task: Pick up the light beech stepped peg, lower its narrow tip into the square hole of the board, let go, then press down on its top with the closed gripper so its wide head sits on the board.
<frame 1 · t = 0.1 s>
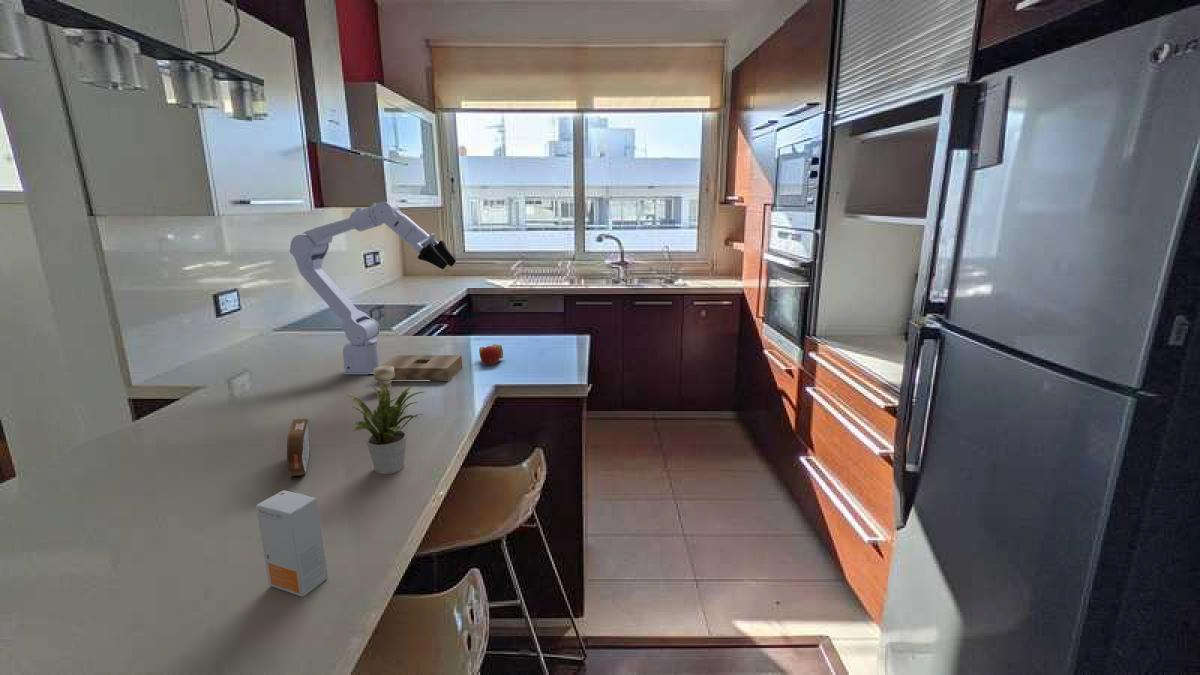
hand: (449, 265, 157), 32 cm above the counter, tool tilted 50°, fingers open, 7 cm apart
skincare box: (299, 584, 72), on the counter
house plant: (395, 469, 103), on the counter
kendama: (492, 360, 178), on the counter
tin: (302, 467, 105), on the counter
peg: (386, 389, 148), on the counter
board: (422, 374, 162), on the counter
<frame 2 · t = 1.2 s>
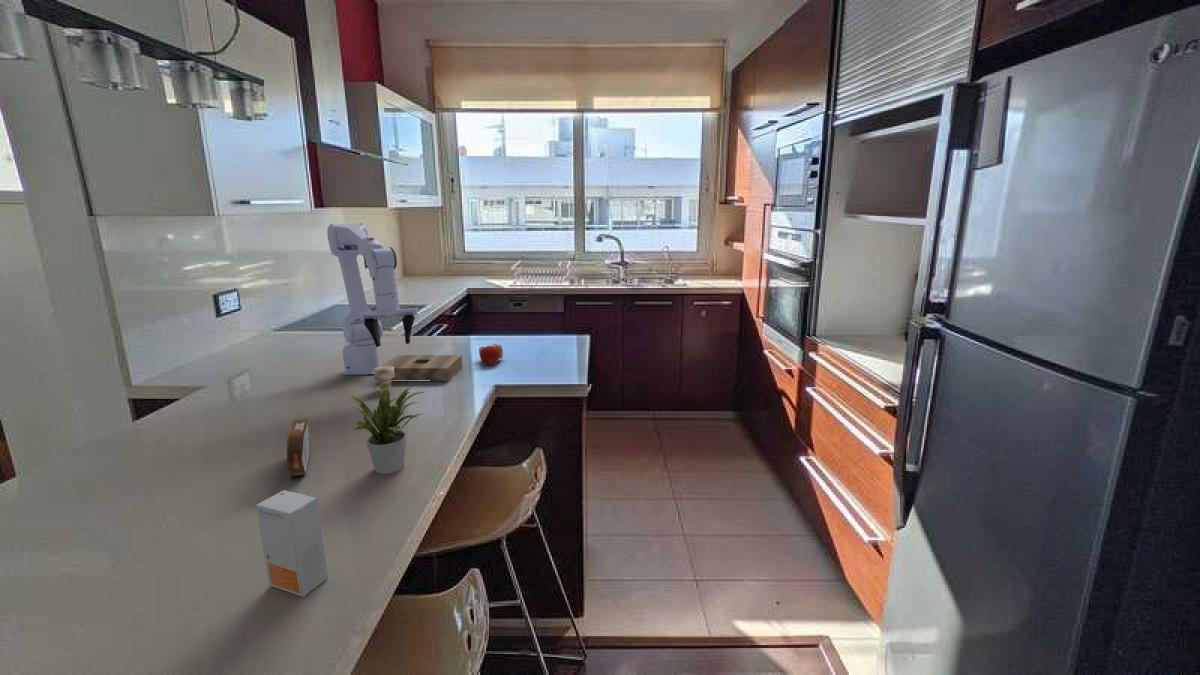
hand: (393, 344, 146), 12 cm above the counter, tool pointing down, fingers open, 7 cm apart
nothing on the counter moved.
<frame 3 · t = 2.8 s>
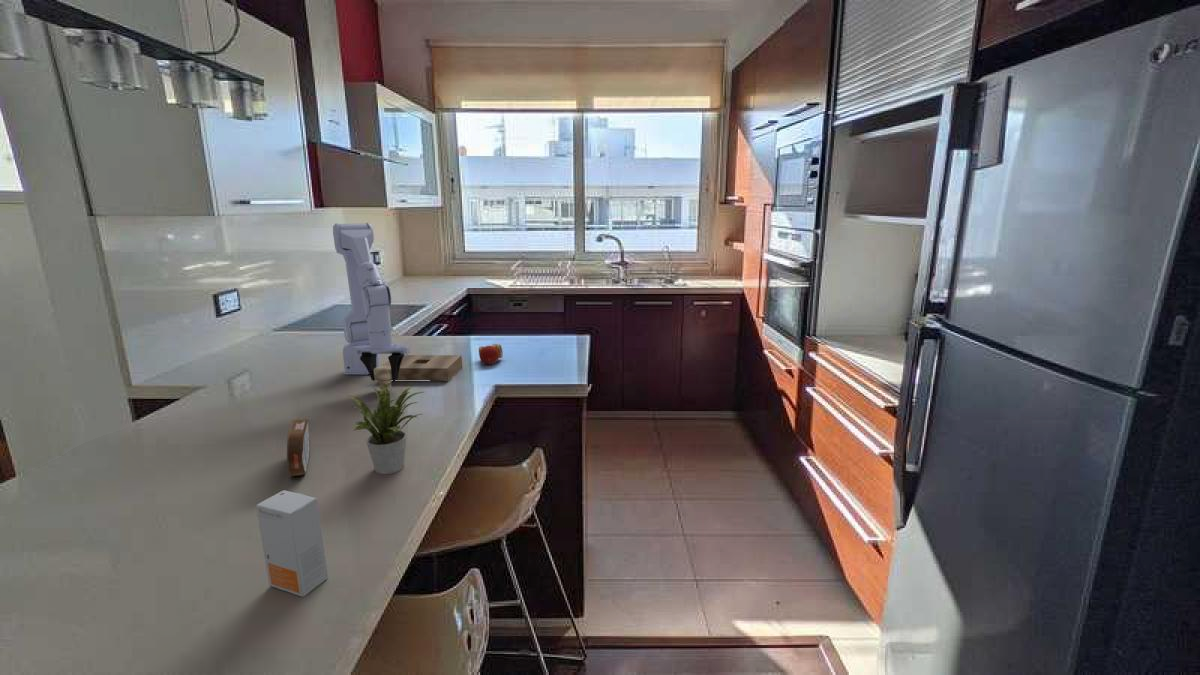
hand: (384, 379, 148), 3 cm above the counter, tool pointing down, fingers closed on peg, 5 cm apart
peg: (386, 389, 148), on the counter, touching gripper
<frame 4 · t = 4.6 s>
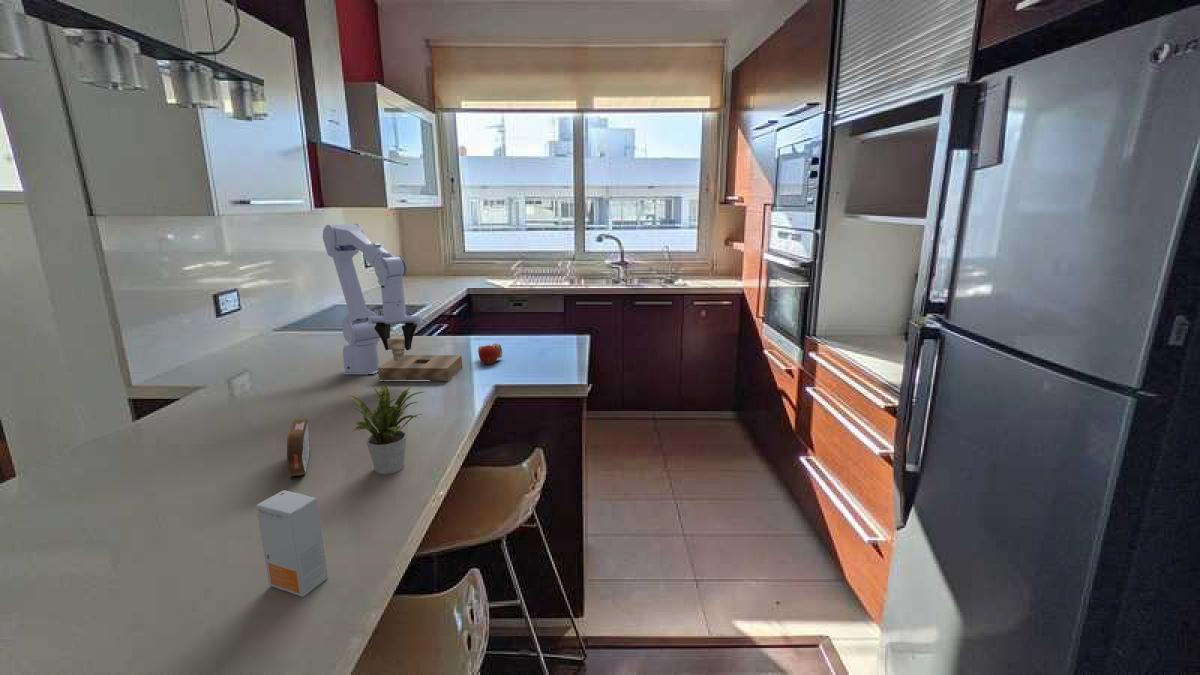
hand: (398, 349, 152), 10 cm above the counter, tool pointing down, fingers closed on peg, 5 cm apart
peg: (399, 359, 152), point 7 cm above the counter, touching gripper
when the fingers open (5 cm above the counter, at t = 6.8 s): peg drops 1 cm, resting on board.
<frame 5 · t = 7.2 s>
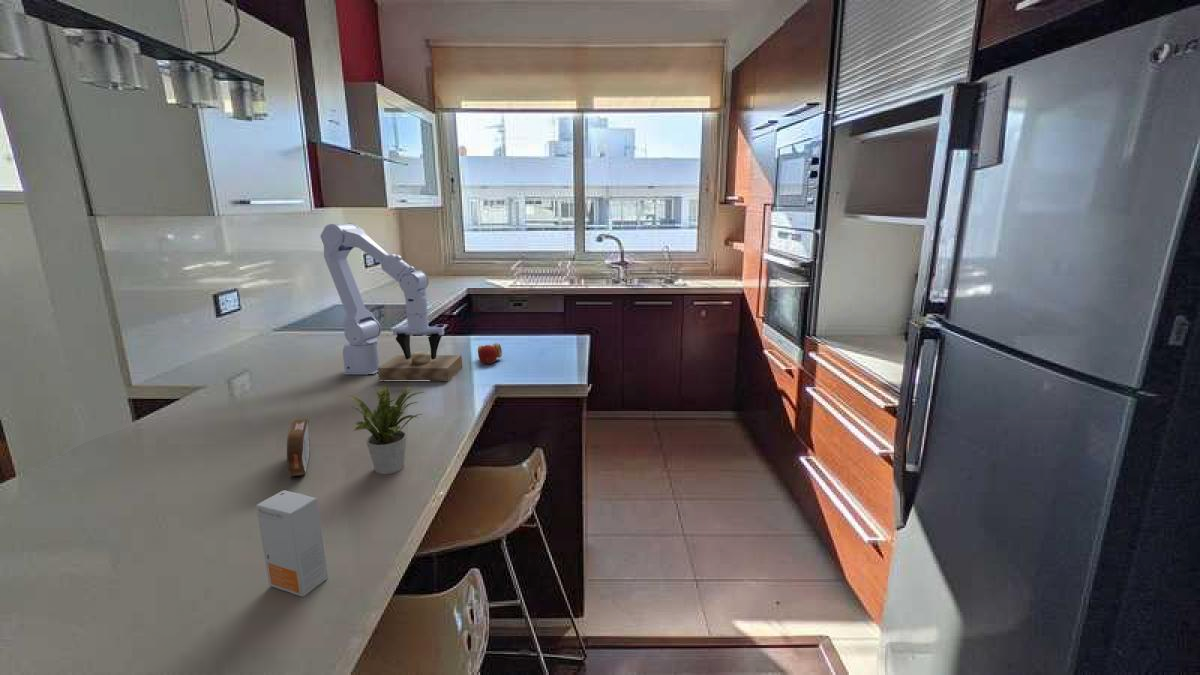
hand: (421, 358, 161), 5 cm above the counter, tool pointing down, fingers open, 7 cm apart
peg: (422, 372, 162), resting on board
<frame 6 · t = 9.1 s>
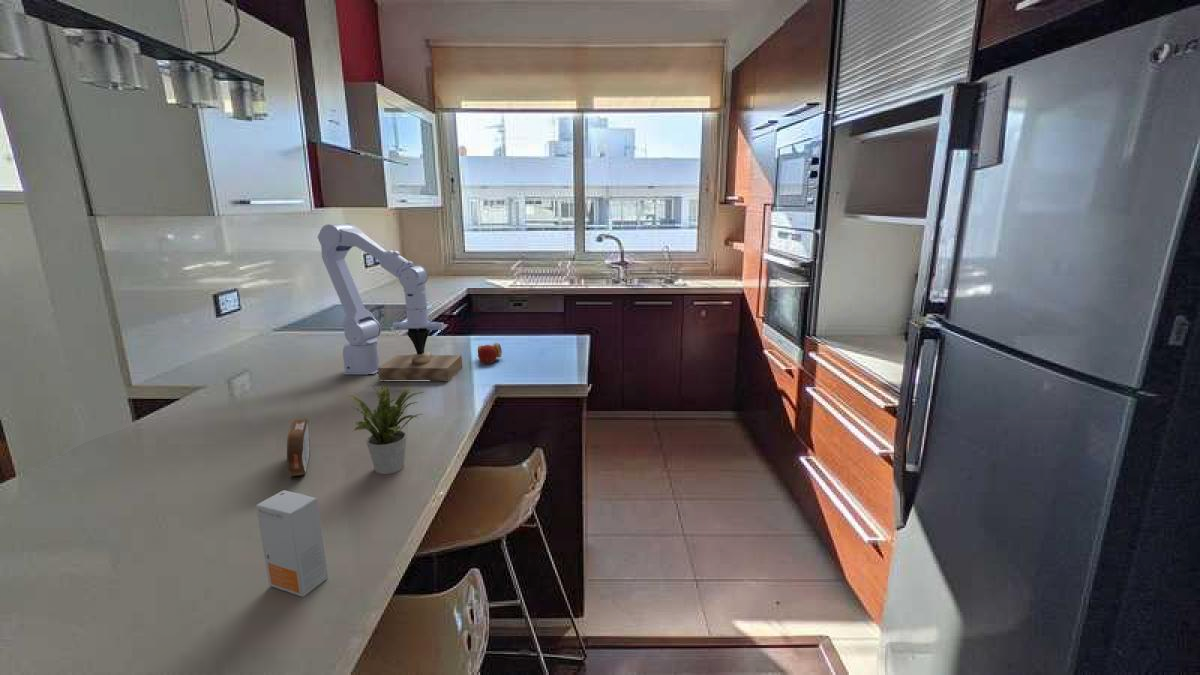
hand: (420, 353, 160), 6 cm above the counter, tool pointing down, fingers closed, pressing on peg
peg: (422, 372, 162), resting on board, touching gripper
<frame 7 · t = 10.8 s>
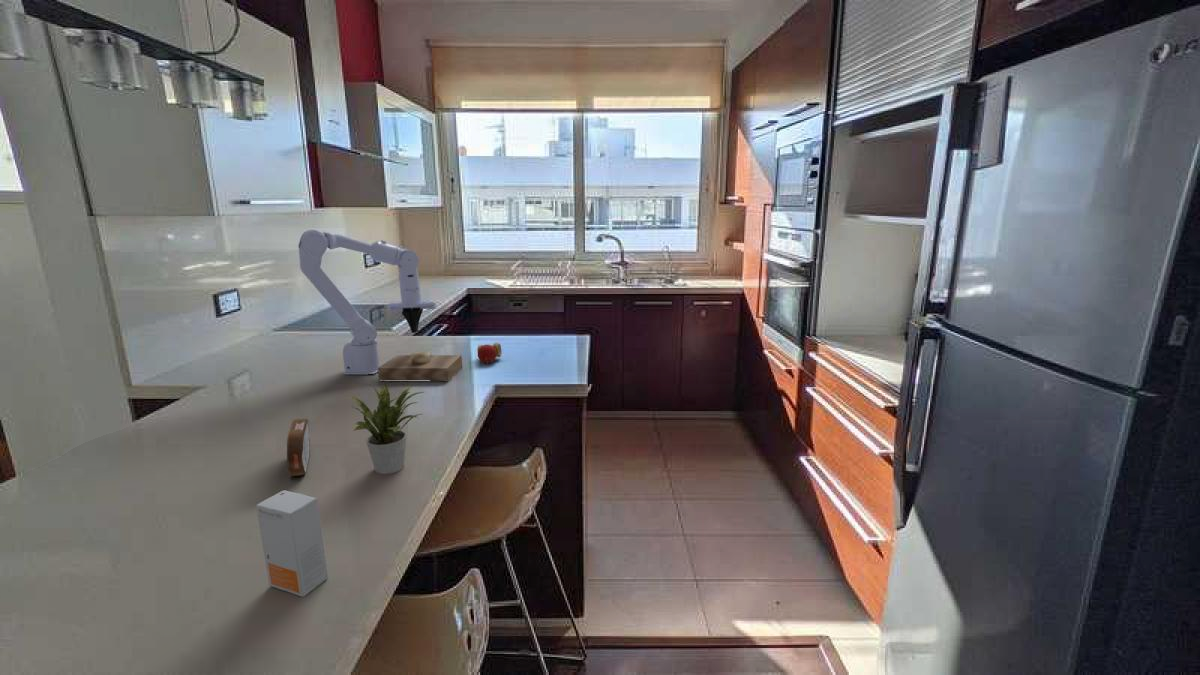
hand: (414, 331, 171), 10 cm above the counter, tool pointing down, fingers closed
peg: (422, 372, 162), resting on board
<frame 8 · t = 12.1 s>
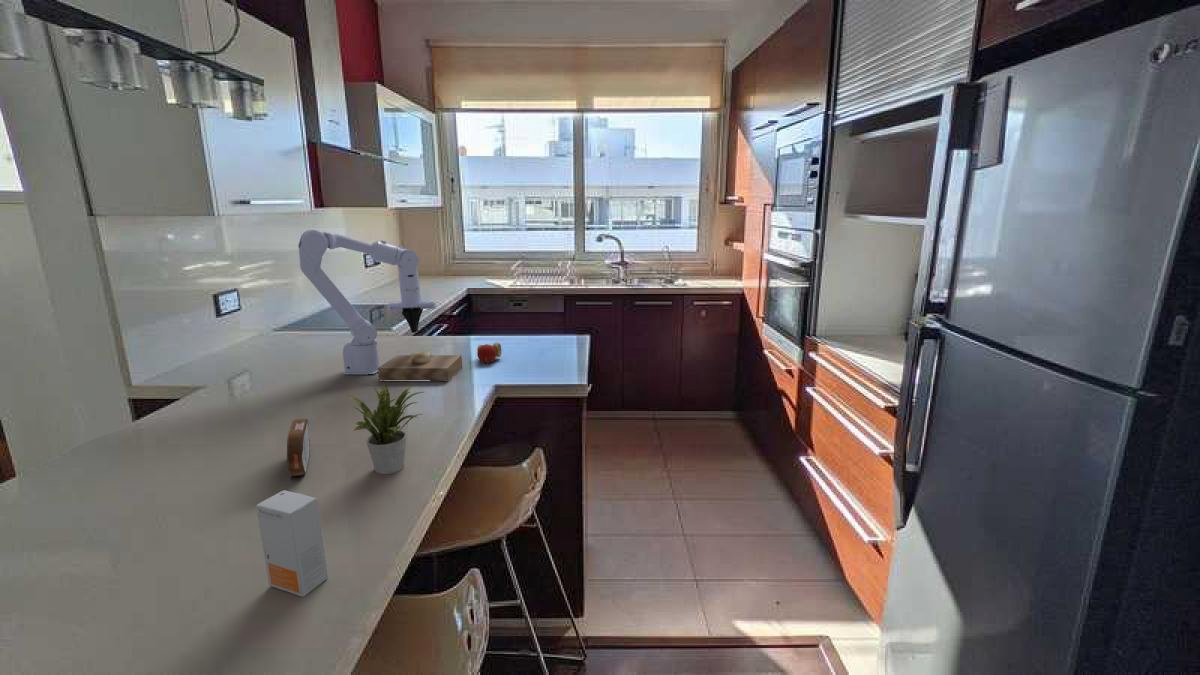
hand: (414, 331, 171), 10 cm above the counter, tool pointing down, fingers closed
at the end: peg 0.1 cm off-centre on the board, point 0.5 cm above the board's base; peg tilted 0°; the gripper is holding nothing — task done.
